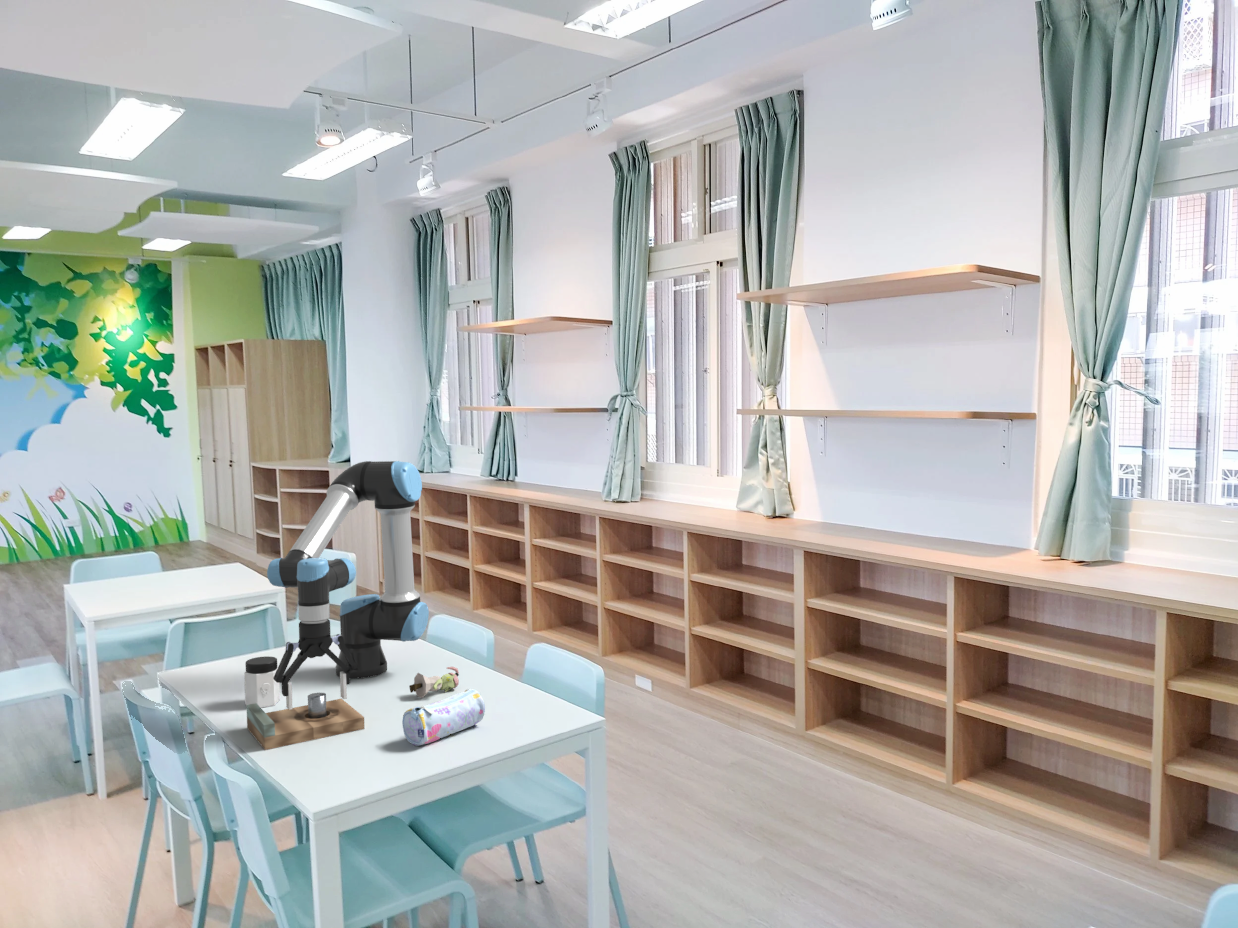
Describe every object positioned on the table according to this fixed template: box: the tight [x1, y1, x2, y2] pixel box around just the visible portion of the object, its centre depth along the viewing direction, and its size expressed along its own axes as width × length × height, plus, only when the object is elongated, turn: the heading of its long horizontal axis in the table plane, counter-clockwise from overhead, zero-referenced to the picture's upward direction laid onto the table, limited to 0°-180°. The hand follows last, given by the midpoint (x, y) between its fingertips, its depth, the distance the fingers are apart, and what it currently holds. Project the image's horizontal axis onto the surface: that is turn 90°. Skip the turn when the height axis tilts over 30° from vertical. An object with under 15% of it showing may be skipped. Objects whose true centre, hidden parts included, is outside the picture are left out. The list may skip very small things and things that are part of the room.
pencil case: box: [402, 688, 486, 746], centre depth 225 cm, size 21×9×10 cm, turn 140°
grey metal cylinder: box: [307, 692, 327, 719], centre depth 231 cm, size 4×4×8 cm
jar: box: [243, 655, 281, 709], centre depth 249 cm, size 9×8×12 cm
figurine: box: [409, 666, 460, 699], centre depth 257 cm, size 9×7×15 cm
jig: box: [246, 698, 365, 751], centre depth 230 cm, size 24×18×6 cm
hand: (317, 702), depth 231 cm, fingers open, 13 cm apart
